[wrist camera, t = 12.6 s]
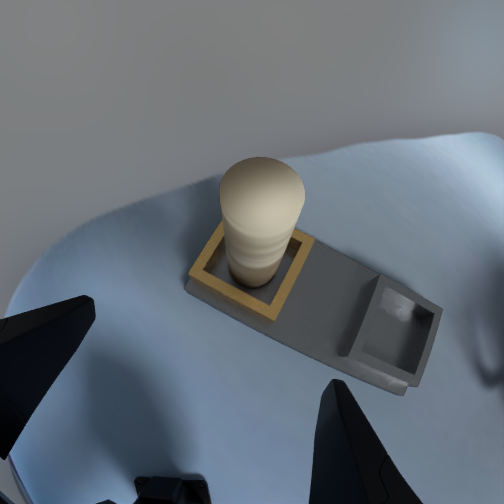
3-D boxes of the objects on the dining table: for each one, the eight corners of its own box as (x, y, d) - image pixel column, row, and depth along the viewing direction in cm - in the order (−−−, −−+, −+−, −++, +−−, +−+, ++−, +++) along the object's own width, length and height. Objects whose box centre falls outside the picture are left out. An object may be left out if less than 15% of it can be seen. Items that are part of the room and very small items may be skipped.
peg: (287, 268, 23) (322, 198, 13) (248, 298, 22) (255, 246, 12) (256, 232, 24) (267, 145, 14) (218, 260, 23) (202, 183, 13)
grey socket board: (427, 307, 24) (446, 300, 21) (396, 395, 21) (415, 398, 18) (238, 208, 26) (238, 190, 23) (186, 292, 23) (178, 282, 20)
